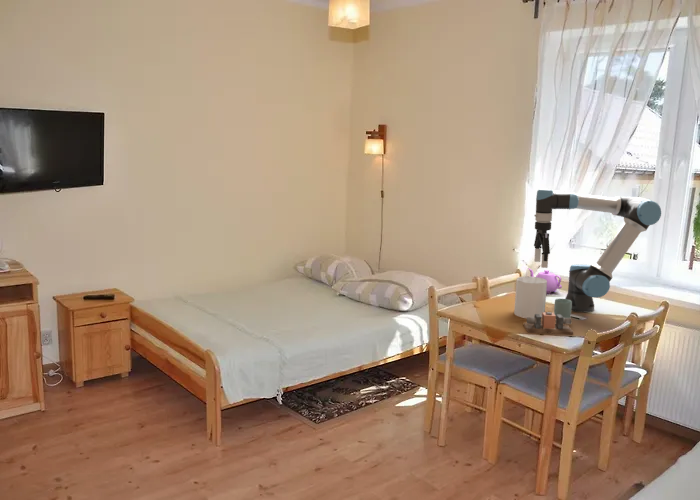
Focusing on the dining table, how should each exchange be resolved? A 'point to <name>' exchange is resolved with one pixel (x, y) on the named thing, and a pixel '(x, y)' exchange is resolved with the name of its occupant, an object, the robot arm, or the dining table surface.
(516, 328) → the dining table surface
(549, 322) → the joint block
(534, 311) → the container
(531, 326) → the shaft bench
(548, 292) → the teapot
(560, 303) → the cup
